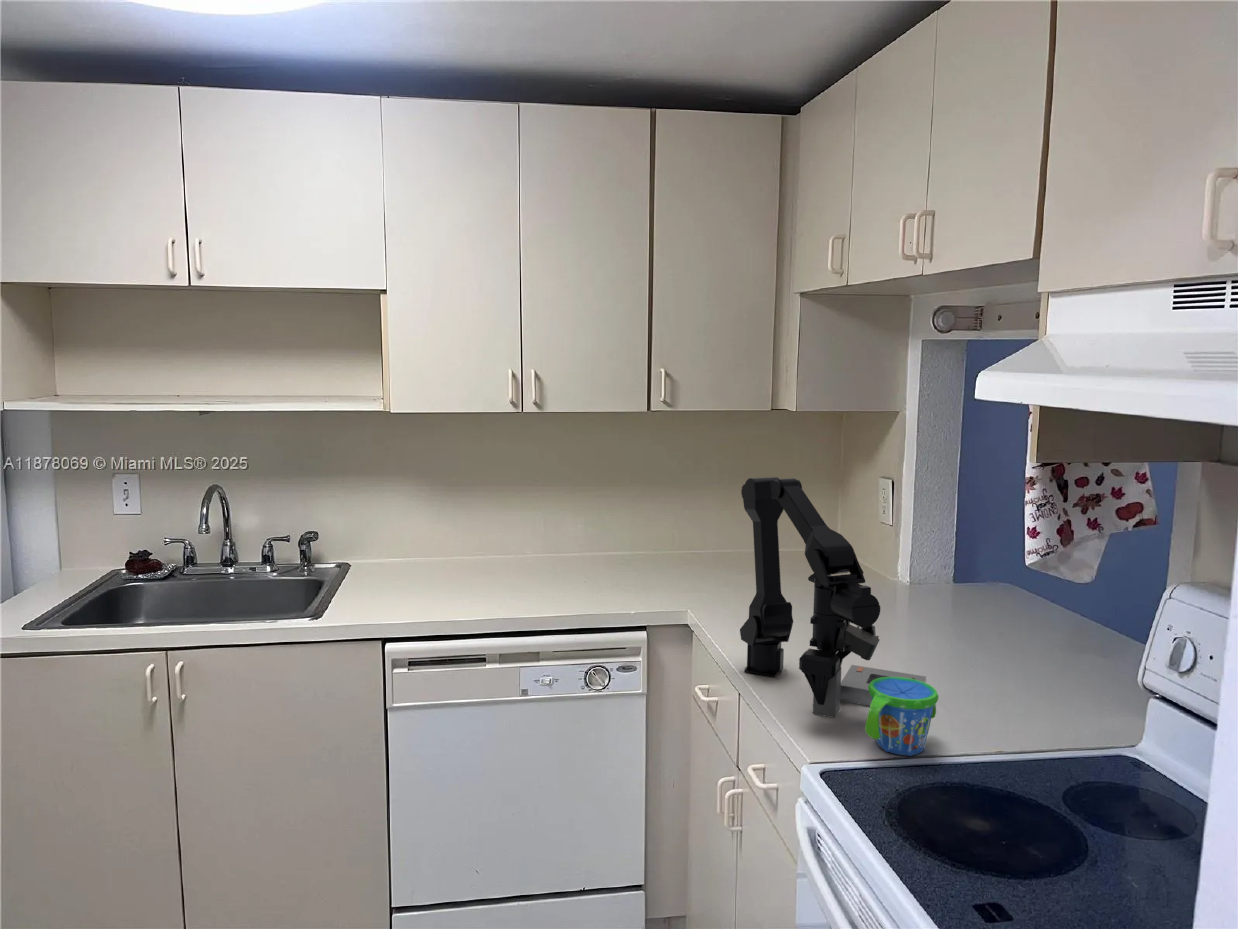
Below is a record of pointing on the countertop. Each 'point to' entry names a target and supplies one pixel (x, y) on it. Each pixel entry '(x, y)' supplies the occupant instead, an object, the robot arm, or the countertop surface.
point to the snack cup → (900, 714)
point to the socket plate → (866, 683)
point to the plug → (830, 698)
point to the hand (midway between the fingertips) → (826, 695)
